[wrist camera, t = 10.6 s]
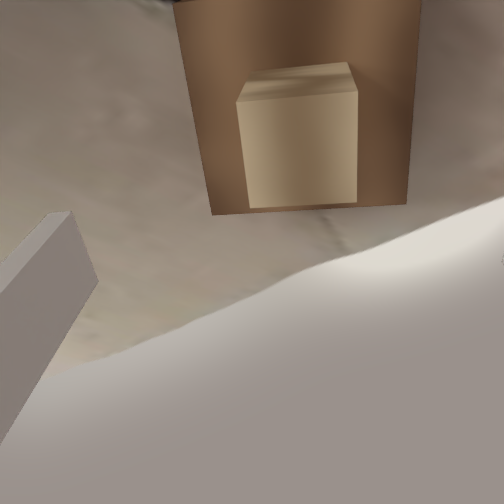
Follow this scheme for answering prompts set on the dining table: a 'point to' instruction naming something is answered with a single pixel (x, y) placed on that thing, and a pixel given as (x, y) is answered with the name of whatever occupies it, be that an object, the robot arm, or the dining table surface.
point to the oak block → (300, 135)
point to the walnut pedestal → (296, 55)
